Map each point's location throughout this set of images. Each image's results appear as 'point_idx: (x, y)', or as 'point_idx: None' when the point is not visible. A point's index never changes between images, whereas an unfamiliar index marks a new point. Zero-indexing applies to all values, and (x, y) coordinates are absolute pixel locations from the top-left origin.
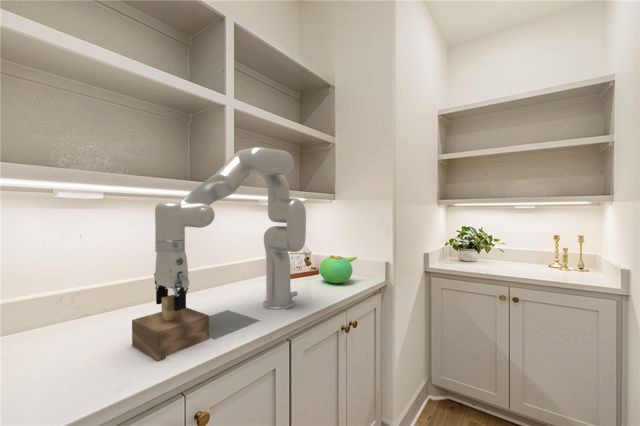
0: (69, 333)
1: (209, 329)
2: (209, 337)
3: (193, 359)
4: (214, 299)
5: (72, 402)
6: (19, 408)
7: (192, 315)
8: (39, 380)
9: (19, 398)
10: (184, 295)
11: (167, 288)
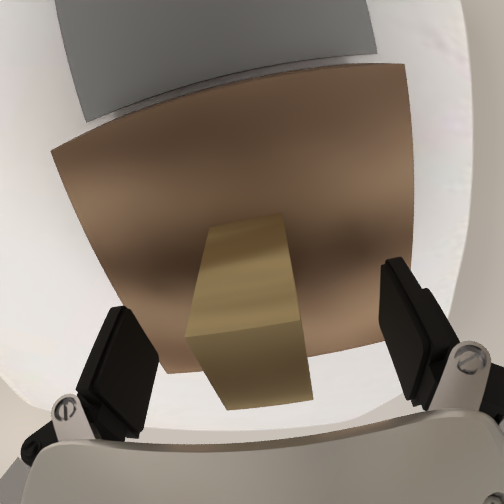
0: (35, 364)
1: (235, 15)
2: (337, 55)
3: (444, 184)
4: None
5: (383, 382)
6: (333, 417)
7: (317, 146)
8: (254, 413)
9: (301, 421)
10: (462, 349)
11: (83, 391)
